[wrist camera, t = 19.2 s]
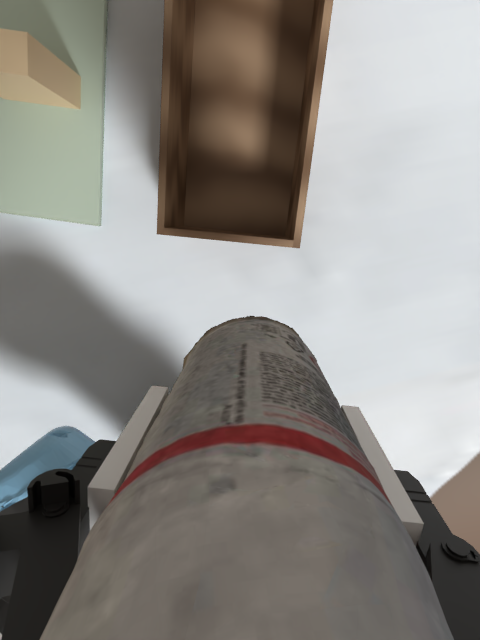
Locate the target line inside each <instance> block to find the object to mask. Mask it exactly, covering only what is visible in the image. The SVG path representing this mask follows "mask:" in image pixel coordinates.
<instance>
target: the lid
mask: <svg viewBox="0 0 480 640" xmlns="http://www.w3.org/2000/svg"><path fill="white" fill-rule="evenodd" d="M107 3H108V0H0V213H7V214H14V215H22V216H29V217H36V218H44V219H51V220H58V221H65V222H73V223H80V224H87V225H95V226H101V212H102V177H103V142H104V108H105V73H106V38H107Z"/></svg>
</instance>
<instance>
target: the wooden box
mask: <svg viewBox="0 0 480 640" xmlns="http://www.w3.org/2000/svg"><path fill="white" fill-rule="evenodd" d="M332 6H333V0H165V2H164V32H163V63H162V93H161V124H160V154H159V185H158V215H157V234H161V235H171V236H181V237H191V238H201V239H211V240H222V241H232V242H242V243H252V244H262V245H272V246H282V247H292V248H300V242H301V234H302V227H303V220H304V212H305V205H306V197H307V190H308V183H309V175H310V168H311V161H312V153H313V146H314V139H315V131H316V124H317V116H318V109H319V102H320V94H321V87H322V80H323V72H324V65H325V58H326V50H327V43H328V36H329V28H330V21H331V13H332Z"/></svg>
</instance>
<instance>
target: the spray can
mask: <svg viewBox="0 0 480 640" xmlns="http://www.w3.org/2000/svg"><path fill="white" fill-rule="evenodd" d="M40 640H454V638H453V636H452V634H451V631H450V629H449V627H448V624H447V622H446V619H445V616H444V614H443V611H442V608H441V605H440V603H439V600H438V597H437V595H436V592H435V589H434V586H433V584H432V581H431V578H430V576H429V574H428V571H427V569H426V567H425V565H424V563H423V561H422V559H421V557H420V555H419V553H418V551H417V549H416V547H415V545H414V543H413V541H412V539H411V537H410V535H409V533H408V532H407V530H406V528H405V526H404V525H403V523H402V521H401V519H400V518H399V516H398V514H397V513H396V511H395V509H394V507H393V506H392V504H391V502H390V500H389V498H388V497H387V495H386V493H385V491H384V489H383V486H382V484H381V482H380V480H379V478H378V476H377V474H376V471H375V469H374V467H373V466H372V465H371V463H370V462H369V460H368V458H367V457H366V455H365V453H364V451H363V450H362V448H361V446H360V444H359V442H358V441H357V438H356V436H355V434H354V433H353V431H352V429H351V427H350V425H349V423H348V421H347V419H346V418H345V416H344V414H343V412H342V410H341V408H340V406H339V403H338V401H337V399H336V397H335V396H334V394H333V392H332V390H331V388H330V386H329V384H328V383H327V381H326V379H325V377H324V375H323V373H322V372H321V369H320V367H319V366H318V364H317V360H316V358H315V357H314V355H313V354H312V352H311V351H310V350H309V348H308V347H307V346H306V345H305V344H304V343H303V341H302V339H301V338H300V337H299V335H298V334H297V333H296V332H295V331H294V329H293V328H290V327H289V326H287V325H285V324H283V323H280V322H278V321H274V320H272V319H269V318H267V317H262V316H261V317H254V316H250V317H248V316H247V317H245V318H244V317H243V318H238V319H237V318H236V319H232V320H229V321H227V322H224V323H222V324H219V325H218V326H215V327H213V328H211V329H210V330H208V331H206V333H205V334H204V336H202V337H201V338H200V340H199V341H198V342H197V343H196V344H195V346H194V347H193V348H192V350H191V351H190V352H189V353H188V354H187V356H186V357H185V358H184V363H183V370H182V372H181V373H180V375H179V377H178V379H177V381H176V382H175V384H174V386H173V388H172V390H171V393H170V394H169V395H168V396H167V398H166V399H165V401H164V403H163V405H162V408H161V411H160V413H159V415H158V417H157V418H156V419H155V421H154V423H153V425H152V427H151V428H150V430H149V431H148V433H147V435H146V437H145V439H144V441H143V443H142V445H141V448H140V449H139V450H138V453H137V455H136V458H135V460H134V462H133V464H132V466H131V468H130V470H129V472H128V474H127V476H126V478H125V480H124V482H123V483H122V485H121V486H120V488H119V489H118V491H117V492H116V493H115V495H114V496H113V498H112V499H111V501H110V502H109V504H108V505H107V507H106V508H105V509H104V511H103V512H102V514H101V515H100V517H99V518H98V520H97V521H96V523H95V524H94V525H93V527H92V529H91V530H90V532H89V534H88V536H87V538H86V539H85V541H84V544H83V546H82V549H81V552H80V554H79V557H78V560H77V562H76V565H75V568H74V570H73V572H72V574H71V576H70V578H69V580H68V582H67V584H66V586H65V588H64V590H63V592H62V594H61V596H60V598H59V600H58V602H57V604H56V606H55V608H54V610H53V612H52V614H51V617H50V619H49V621H48V623H47V625H46V627H45V629H44V631H43V633H42V635H41V637H40Z"/></svg>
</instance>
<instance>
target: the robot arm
mask: <svg viewBox="0 0 480 640" xmlns="http://www.w3.org/2000/svg"><path fill="white" fill-rule="evenodd" d="M167 396H168V387H162V386H151V387H150V389H149V390H148V392H147V394H146V395H145V397H144V398H143V400H142V402H141V403H140V405H139V406H138V408H137V409H136V411H135V413H134V414H133V416H132V417H131V419H130V421H129V422H128V424H127V425H126V427H125V428H124V430H123V432H122V433H121V435H120V436H119V438H118V440H117V441H109V440H98V441H97V442H95V441H93V440H92V439H91V438H89V437H88V436H86V435H85V434H84V433H82V432H81V431H80V430H78V429H76V428H74V427H70V426H62V427H58V428H55V429H53V430H51V431H50V432H48V433H47V434H46V435H44V436H43V437H41V438H40V439H39V440H37V441H36V442H35V443H34V444H32V445H31V446H30V447H28V448H27V449H26V450H25V451H23V452H22V453H21V454H20V455H18V456H17V457H16V458H15V459H13V460H12V461H11V462H10V463H8V464H7V465H6V466H5V467H3V468H2V469H1V470H0V640H40V637H41V635H42V633H43V631H44V629H45V627H46V625H47V623H48V621H49V619H50V617H51V614H52V612H53V610H54V608H55V606H56V604H57V602H58V600H59V598H60V596H61V594H62V592H63V590H64V588H65V586H66V584H67V582H68V580H69V578H70V576H71V574H72V572H73V570H74V568H75V565H76V562H77V560H78V557H79V554H80V552H81V549H82V546H83V544H84V541H85V539H86V538H87V536H88V534H89V532H90V530H91V529H92V527H93V525H94V524H95V523H96V521H97V520H98V518H99V517H100V515H101V514H102V512H103V511H104V509H105V508H106V507H107V505H108V504H109V502H110V501H111V499H112V498H113V496H114V495H115V493H116V492H117V491H118V489H119V488H120V486H121V485H122V483H123V482H124V480H125V478H126V476H127V474H128V472H129V470H130V468H131V466H132V464H133V462H134V460H135V458H136V455H137V453H138V450H139V449H140V448H141V445H142V443H143V441H144V439H145V437H146V435H147V433H148V431H149V430H150V428H151V427H152V425H153V423H154V421H155V419H156V418H157V417H158V415H159V413H160V411H161V408H162V405H163V403H164V401H165V399H166V398H167ZM341 410H342V412H343V414H344V416H345V418H346V419H347V421H348V423H349V425H350V427H351V429H352V431H353V433H354V434H355V436H356V438H357V441H358V442H359V444H360V446H361V448H362V450H363V451H364V453H365V455H366V457H367V458H368V460H369V462H370V463H371V465H372V466H373V467H374V469H375V471H376V474H377V476H378V478H379V480H380V482H381V484H382V486H383V489H384V491H385V493H386V495H387V497H388V498H389V500H390V502H391V504H392V506H393V507H394V509H395V511H396V513H397V514H398V516H399V518H400V519H401V521H402V523H403V525H404V526H405V528H406V530H407V532H408V533H409V535H410V537H411V539H412V541H413V543H414V545H415V547H416V549H417V551H418V553H419V555H420V557H421V559H422V561H423V563H424V565H425V567H426V569H427V571H428V574H429V576H430V578H431V581H432V584H433V586H434V589H435V592H436V595H437V597H438V600H439V603H440V605H441V608H442V611H443V614H444V616H445V619H446V622H447V624H448V627H449V629H450V631H451V634H452V636H453V638H454V640H480V554H479V553H478V552H477V551H476V550H475V549H474V547H473V546H471V545H470V544H468V543H467V542H466V541H465V540H463V539H461V538H459V537H457V536H455V535H453V534H452V533H451V531H450V530H449V528H448V526H447V525H446V523H445V522H444V520H443V518H442V517H441V515H440V514H439V512H438V511H437V509H436V507H435V506H434V504H432V501H431V500H430V498H429V496H428V495H426V492H425V490H424V489H423V487H422V485H421V484H420V482H419V481H418V480H417V479H416V478H414V477H413V476H412V475H411V474H410V473H409V472H408V471H399V470H393V468H392V466H391V464H390V462H389V461H388V459H387V457H386V455H385V454H384V452H383V450H382V448H381V446H380V445H379V443H378V441H377V439H376V438H375V436H374V434H373V432H372V430H371V429H370V427H369V425H368V423H367V421H366V420H365V418H364V416H363V414H362V413H361V411H360V409H359V407H353V406H343V405H342V406H341Z"/></svg>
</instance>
